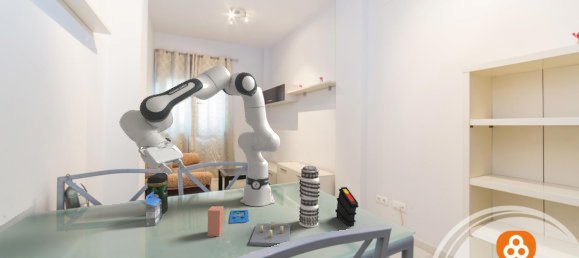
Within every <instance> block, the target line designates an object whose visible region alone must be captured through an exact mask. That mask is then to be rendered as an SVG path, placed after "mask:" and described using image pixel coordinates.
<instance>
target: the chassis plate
mask: <svg viewBox="0 0 579 258" xmlns="http://www.w3.org/2000/svg"><path fill="white" fill-rule="evenodd" d="M290 232H291V224H276V223H275V221H271V222H270V224H269V223H256V226H255V227H254V230H253V232H252V235H251V238H250V239H249V240H250V241H249V246H260V247H274V246H273V245H277V244H280V243H283V242H287V241H289V242H290V237H291V236H290V234H291V233H290Z"/></svg>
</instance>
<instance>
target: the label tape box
mask: <svg viewBox="0 0 579 258" xmlns="http://www.w3.org/2000/svg"><path fill="white" fill-rule="evenodd" d="M153 194H154V191H153V192H152V193H150V194H149V195H148V194H147V195H146V196H145V225H146V227H154V226H156V225H157V224H158V223H159V222H160V220H161V219H162V218H163V214H162V200H161V199H158V198H155V197H153ZM149 196H151V197H150V198H149ZM148 198H149V199H148Z"/></svg>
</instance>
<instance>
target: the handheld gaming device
mask: <svg viewBox="0 0 579 258" xmlns="http://www.w3.org/2000/svg"><path fill="white" fill-rule="evenodd" d="M228 221H229V222H228V224H229V225H230V224H231V225H233V224H234V225H235V224H245V223H248V222H249V210H248V209H236V210H234V209H233V210H231V211H230V216H229V220H228Z"/></svg>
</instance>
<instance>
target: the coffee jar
mask: <svg viewBox="0 0 579 258" xmlns="http://www.w3.org/2000/svg"><path fill="white" fill-rule="evenodd" d="M168 178H169V175H168V174H167V173H166V172H156V173H154V174H153V175H149V176H148V177H147V179H146V185H147V186H146V187H147V196H148V195H149V194H150V193H152V192H153V191H154V194H153V197H155V198H158V199H161V200H162V215H163V214H165V212H167V211H168V209H169V200H168V199H169V197H168V196H169V195H168V185H169V183H168V182H169V179H168ZM150 197H151V196H149V198H150ZM149 198H148V199H149Z"/></svg>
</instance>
